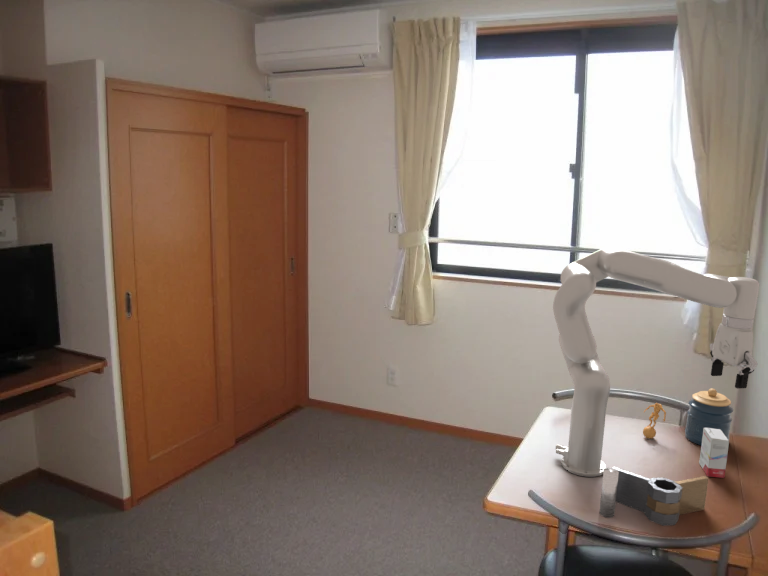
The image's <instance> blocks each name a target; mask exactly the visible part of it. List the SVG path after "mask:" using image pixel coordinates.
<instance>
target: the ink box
mask: <svg viewBox="0 0 768 576" xmlns="http://www.w3.org/2000/svg"><path fill="white" fill-rule="evenodd" d="M729 444H730V439H729V440H728V439H727V437H726V436H725V435H724V433H723V432H722V431H721V430H720V429H713V428H704V429H703V437H702V445H700V455H699V461H698V464H699V466H701V468H702V470H703V471H704V473H705V476H706V477H707V478H709V477H710V478H721V479H724V478H725V476H726V468H727V461H728V451H729Z"/></svg>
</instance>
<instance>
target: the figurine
mask: <svg viewBox="0 0 768 576" xmlns="http://www.w3.org/2000/svg"><path fill="white" fill-rule="evenodd" d="M651 407H652V408H653V411H651V414H650V415H649V417H648V420H649V422H650V423H649V424H648V425H647V426H645V427H644V428H643V429H642V435H643V436H644V437H645V438H646V439H648V440H649V439H654V438H655V437H656V435H657V431H656V428H655V426H656V424H657V420H658V419H659V417H660V415H659V413H660V412H661V411H662V412H663V418H662V422H666V416H667V412H666V410H665V409H664V408H663V405H662V404H661V403H658V402H655V404H650V405H649V406H648V407H647V408H646V409H644V411H643V413H645V412H646V411H647V410H649V409H650V408H651ZM652 423H653V425H652ZM651 425H652V426H651Z"/></svg>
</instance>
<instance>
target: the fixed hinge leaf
mask: <svg viewBox="0 0 768 576" xmlns="http://www.w3.org/2000/svg"><path fill="white" fill-rule="evenodd" d="M611 468H614V469H616V470H618V471H619V475H618V485H617V494H616V503H618V504H621V505H624V506H627V507H629V508H632V509H634V510H638V511H641V512H643V513H644V516H645V517H647V519H648V520H649V521H650V522H652V523H654V524H658V525H660V526H664V527H665V526H675V525H676V524H677V522H679V517H680V515H679V513H676V514H671V515H667V514H662V513H658V512H655V511H653V510H652V509H651V508H649V507H648V506H647V497H648V494H649V495H650V497H651V498H652V499H654V500H657V501H660V502H663V503H665V504H667V503H678V502H679V501H680V499H681V496H682V487H681V486H680V485H679V484H678V483H676V482H675V480H672V479H669V478H667V477H652V478H650V477H649V478H648V477H645V476H643V475H640V474H637V473H635V472H631V471H628V470H624V469H621V468H619V467H616V466H612V467H611ZM679 512H680V509H679Z"/></svg>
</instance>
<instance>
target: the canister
mask: <svg viewBox="0 0 768 576" xmlns="http://www.w3.org/2000/svg"><path fill="white" fill-rule="evenodd" d="M691 396H692V398H691V399H690V400H688V405H689V409H688V410H687V411H686V414H687V416H686V417H687V418H686V425H685V427H684V428H685V429H684V434H685V438H686V439H687V440H688V441H690V442H692V444H693V443H694V444H696V445H699V446H701V445H702V437H703V429H704V428H713V429H720V430H721V431H722V432H723V433H724V435H725V436H726V437H727V439H728V440H729V441H730V432H731V431H730V430H731V423H732V421H733V418H732V416H731V415H732V413H733V412H734V407H732V406H731V405H732V401H731V399H730V398H728V397H727V396H726V395H725V394H723V393H720V392H718V391H717V389H715V388H712V387H711V388H709V389H708V390H700V391H698V392H695V393H692V395H691Z"/></svg>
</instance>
